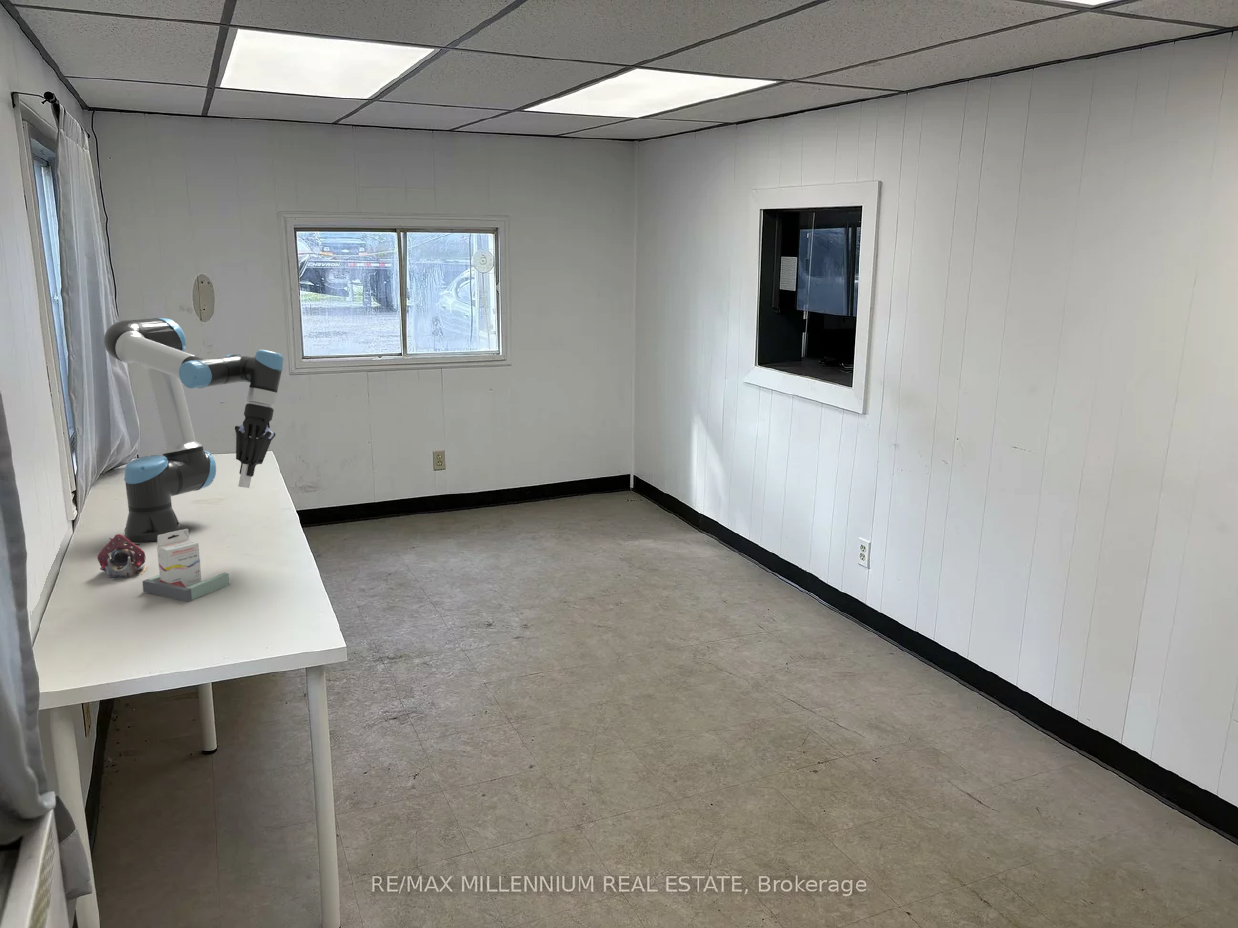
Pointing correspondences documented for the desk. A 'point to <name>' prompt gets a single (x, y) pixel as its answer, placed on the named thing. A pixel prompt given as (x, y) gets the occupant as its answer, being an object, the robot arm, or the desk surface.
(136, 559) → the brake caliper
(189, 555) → the ink cartridge box
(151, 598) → the desk surface
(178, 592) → the cartridge dock
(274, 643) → the desk surface
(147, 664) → the desk surface
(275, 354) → the robot arm
